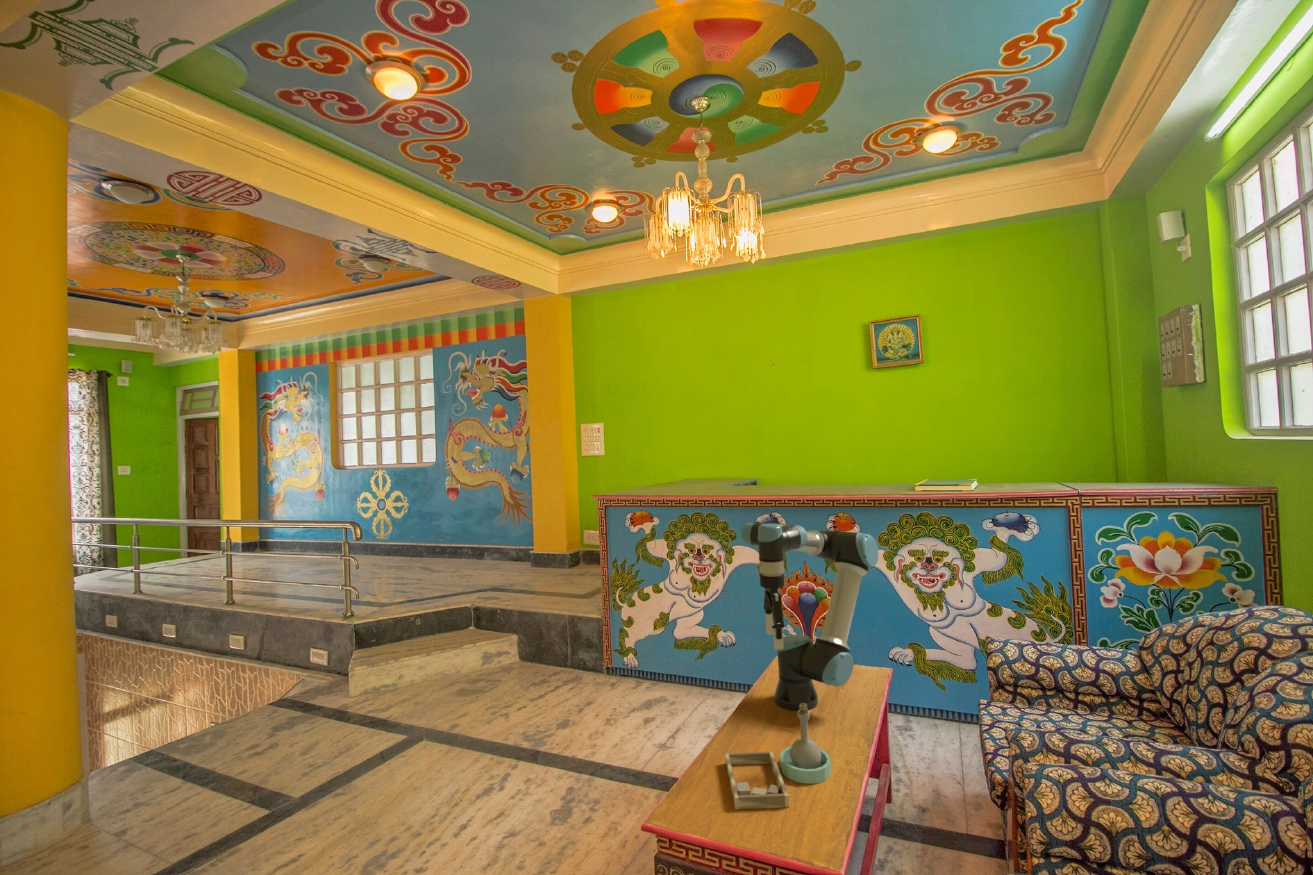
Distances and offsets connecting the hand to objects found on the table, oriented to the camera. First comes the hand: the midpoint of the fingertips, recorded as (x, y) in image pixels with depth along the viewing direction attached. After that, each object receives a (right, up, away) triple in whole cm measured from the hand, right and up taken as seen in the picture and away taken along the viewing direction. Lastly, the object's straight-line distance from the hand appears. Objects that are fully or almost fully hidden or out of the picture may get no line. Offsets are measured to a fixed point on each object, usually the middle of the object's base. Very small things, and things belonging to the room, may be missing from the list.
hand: (774, 641), depth 189 cm
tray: (-10, -32, -22) cm, 40 cm away
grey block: (-14, -33, -27) cm, 44 cm away
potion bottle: (+6, -31, -16) cm, 35 cm away
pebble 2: (-6, -32, -28) cm, 43 cm away
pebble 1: (-10, -32, -29) cm, 45 cm away
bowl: (+6, -32, -16) cm, 36 cm away
